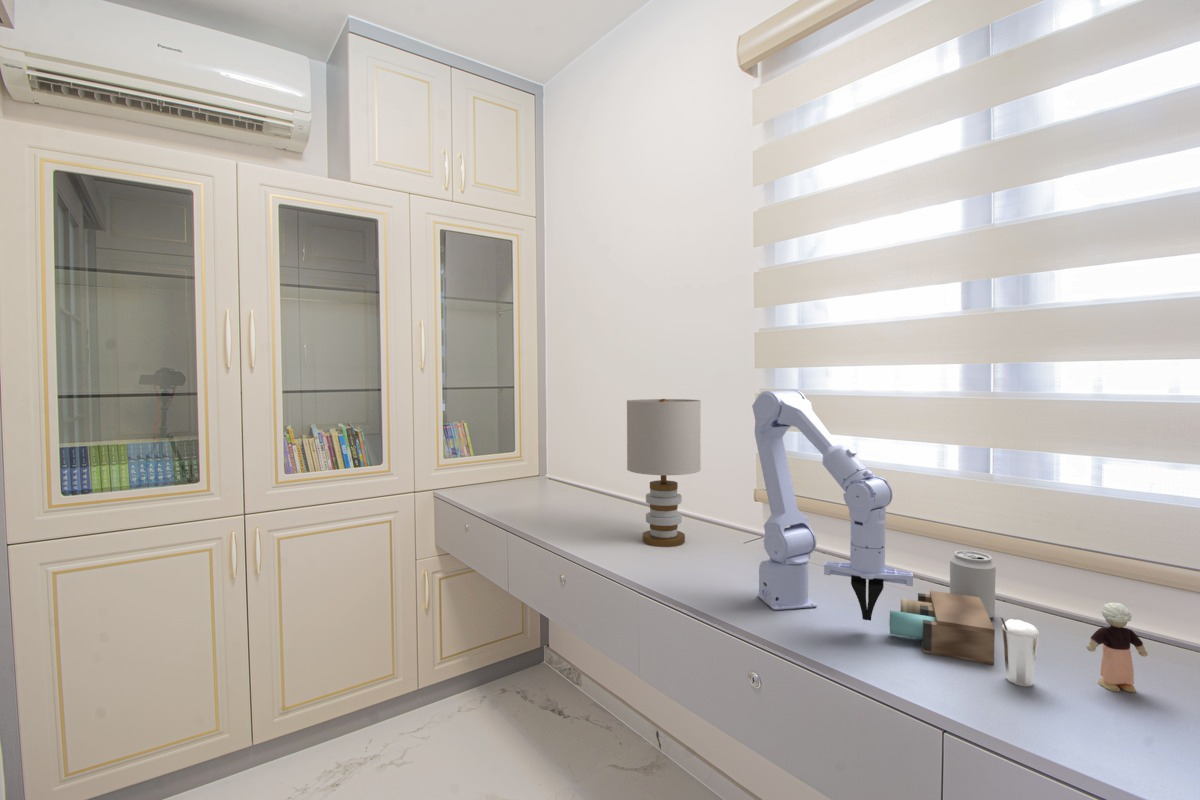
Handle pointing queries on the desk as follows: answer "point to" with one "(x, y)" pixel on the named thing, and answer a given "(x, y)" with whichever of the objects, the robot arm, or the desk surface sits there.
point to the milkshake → (1020, 651)
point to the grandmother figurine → (1116, 648)
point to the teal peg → (908, 624)
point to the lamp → (663, 458)
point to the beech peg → (912, 606)
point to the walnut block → (957, 627)
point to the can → (974, 577)
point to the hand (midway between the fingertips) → (866, 618)
